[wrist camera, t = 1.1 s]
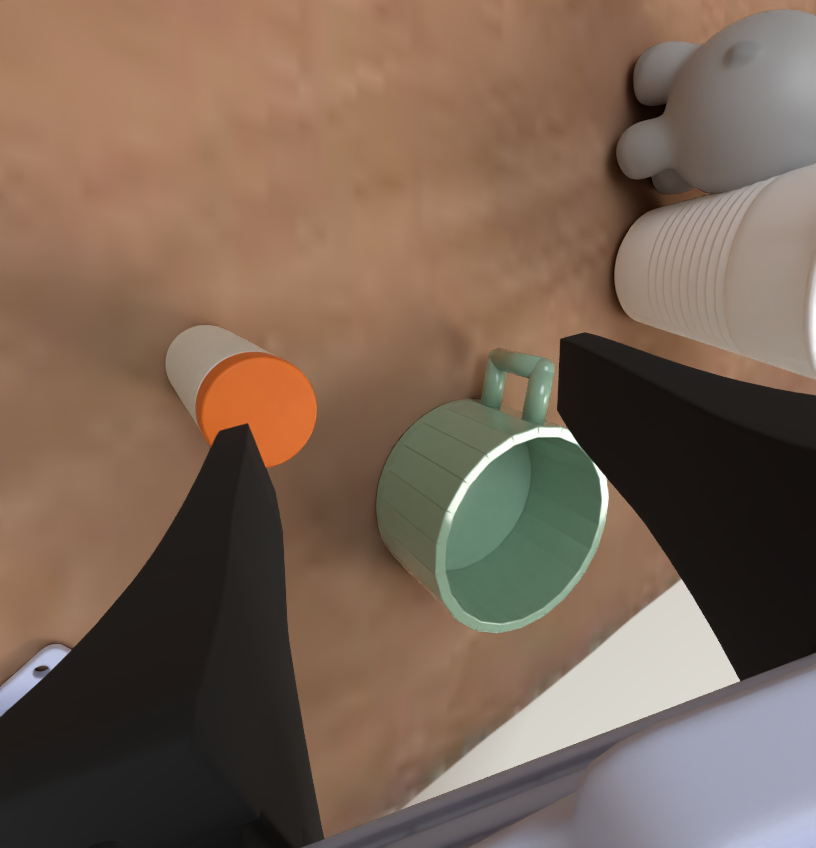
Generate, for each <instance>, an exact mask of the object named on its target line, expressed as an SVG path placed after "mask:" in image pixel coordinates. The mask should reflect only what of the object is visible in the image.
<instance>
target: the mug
mask: <svg viewBox="0 0 816 848" xmlns="http://www.w3.org/2000/svg"><path fill="white" fill-rule="evenodd" d="M507 372H508V373H511V374H515V375H519V376H522V377H526V378H529V381H528V386H527V392H526V397H525V402H524V408H523V412H520V411H517V410H515V409H512V408H509V407H506V406H503V405H501V403H502V398H503V392H504V386H505V381H506V375H507ZM554 373H555V366H554V364H553V362H552V361H551V360H549V359H547V358H543V357H538V356H533V355H529V354H524V353H520V352H515V351H511V350H506V349H501V348H496V349H494V350H492V351H491V352H490V353H489V355H488V360H487V366H486V371H485V377H484V383H483V389H482V395H481V399H462V400H457V401H452V402H449V403H447V404H444V405H441V406H439V407H437V408H435V409H433V410H431V411H430V412H428V413H427V414H425V415H424V416H422V417H421V418H420V419H419V420H417V421H416V422H415V423H414V424H413V425H412V426H411V427H410V428H409V429H408V430H407V431H406V432H405V433H404V434H403V436H402V437H401V438H400V440H399V441H398V442H397V444H396V445H395V447H394V448H393V450H392V452H391V453H390V455H389V457H388V459H387V461H386V463H385V466H384V468H383V471H382V474H381V477H380V480H379V485H378V490H377V497H376V516H377V523H378V528H379V531H380V534H381V537H382V540H383V541H384V543H385V545H386V547H387V549H388V550H389V551H390V553H391V554H392V555H393V556H394V557H395V558H396V559H397V560H398V562H399V563H400V564H401V566H402V567H403V568H404V569H405V570H406V571H407V572H408V573H409V574H410V575H411V576H412V577H413V578H414V579H415V580H416V581H417V582H418V583H419V584H420V585H422V586H423V587H424V588H425V589H426V590H427V591H428V592H429V593H430V594H431V595H432V596H433V597H434V598H435V599H436V600H437V601H438V602H439V603H440V604H441V605H442V606H443V607H444V608H445V609H446V610H447V611H448V612H449V613H450V614H451V615H452V616H453V617H454V618H455V619H456V620H457V621H459V622H460V623H462V624H464V625H466V626H468V627H469V628H471V629H473V630H475V631H481V632H490V633H502V632H506V631H511V630H515V629H519V628H521V627H524V626H526V625H528V624H530V623H532V622H534V621H536V620H537V619H539V618H541V617H543V616H544V615H546V614H547V613H548V612H549V611H551V610H552V609H553V608H554V607H555V606H556V605H558V604H559V603H560V602H561V601H562V600H563V599H564V598H565V597H566V596H567V595H568V594H569V593H570V591H571V590H572V589H573V588H574V586H575V585H576V584H577V583H578V581H579V580H580V579H581V578H582V575H584V573H585V571H586V569H587V568H588V566H589V564H590V562H591V560H592V558H593V557H594V555H595V553H596V550H597V548H598V545H599V542H600V539H601V536H602V533H603V530H604V527H605V523H606V516H607V508H608V500H609V498H608V497H609V495H608V486H607V478H606V476H605V475H604V474H603V473H602V472H601V471H600V469H599V468H598V467H597V466H596V465H595V464H594V462H593V461H592V460H591V459H590V458H589V456H588V455H587V454H586V453H585V452H584V450H583V449H582V448H581V447H580V446H579V444H578V443H577V442H576V440H575V438H574V437H573V435H572V434H571V432H570V431H569V429H567V428H565V427H562V426H559V425H557V424H554V423H551V422H548V421H545V419H546V414H547V409H548V404H549V399H550V394H551V389H552V383H553V378H554Z"/></svg>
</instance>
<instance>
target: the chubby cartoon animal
mask: <svg viewBox="0 0 816 848" xmlns="http://www.w3.org/2000/svg"><path fill="white" fill-rule="evenodd" d="M633 84H634V91H635V95H636V97H637V99H638V101H639V102H640V103H642V104H644V105H648V106H656V105H662V104H666V103H667V104H666V108H665V111H664V113H663V114H662V115H661V116H659V117H657V118H654V119H649V120H645V121H641V122H639V123H636V124H634V125H632V126H630V127H629V128H628V129H627V130H626V131H625V132H624V133H623V134H622V136H621V138H620V139H619V141H618V144H617V149H616V156H617V161H618V164H619V166H620V168H621V170H622V171H623V173H624V174H625V175H626V176H627V177H629V178H631V179H644V178H648V177H652V181H653V184H654V186H655V188H656V189H657V191H658V192H660V193H662V194H678V193H683V192H686V191H689V190H691V189H694V188H697V189H699V190H702V191H704V192H707V193H710V194H715V193H722V192H727V191H731V190H734V189H739V188H742V187H743V186H748V185H753V184H754V183H756V182H760V181H764V180H767V179H769V178H771V177H774V176H778V175H782V174H784V173H786V172H788V171H791V170H795V169H799V168H802V167H806V166H809V165H813V164H816V15H813V14H811V13H807V12H803V11H798V10H785V9H784V10H771V11H765V12H761V13H757V14H754V15H750V16H748V17H745V18H743V19H740V20H738V21H736V22H734V23H732V24H731V25H729V26H727V27H725V28H724V29H722V30H721V31H719V32H718V33H717V34H715V35H714V36H713V37H711V38H710V39H709V40H708V41H707V42H705V43H703V44H694V43H689V42H681V41H670V42H663V43H659V44H656V45H654V46H652V47H650V48H649V49H647V50H646V51H645V52H644V53H643V54H642V55H641V56H640V58H639V59H638V61H637V63H636V66H635V69H634V77H633Z"/></svg>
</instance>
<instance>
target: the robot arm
mask: <svg viewBox="0 0 816 848" xmlns="http://www.w3.org/2000/svg"><path fill="white" fill-rule="evenodd" d="M557 411H558V412H559V414H560V416H561V417H562V419H563V421H564V423H565V424H566V426H567V428H568V429H569V431H570V432H571V434H572V435H573V437H574V438H575V440H576V442H577V443H578V444H579V446H580V447H581V448H582V449H583V450H584V452H585V453H586V454H587V455H588V456H589V458H590V459H591V460H592V461H593V462H594V464H595V465H596V466H597V467H598V468H599V469H600V471H601V472H602V473H603V474H604V475H605V476H606V478H607V479H608V480H609V481H610V482H611V483H612V485H613V486H614V487H615V488H616V489H617V490H618V492H619V493H620V494H621V495H622V496H623V497H624V499H625V500H626V501H627V502H628V503H629V504H630V506H631V507H632V508H633V509H634V510H635V512H636V513H637V514H638V515H639V517H640V518H641V519H642V521H643V522H644V523H645V524H646V526H647V527H648V529H649V530H650V532H651V533H652V535H653V536H654V538H655V539H656V541H657V542H658V543H659V545H660V546H661V548H662V549H663V551H664V552H665V554H666V555H667V557H668V558H669V560H670V561H671V563H672V564H673V566H674V568H675V569H676V571H677V572H678V574H679V576H680V577H681V579H682V580H683V582H684V583H685V585H686V587H687V588H688V590H689V591H690V593H691V594H692V596H693V598H694V599H695V601H696V603H697V605H698V606H699V608H700V609H701V611H702V613H703V615H704V616H705V618H706V620H707V622H708V623H709V624H710V627H711V628H712V630H713V632H714V633H715V635H716V637H717V639H718V641H719V642H720V644H721V646H722V648H723V650H724V652H725V654H726V655H727V657H728V659H729V661H730V663H731V665H732V666H733V668H734V670H735V672H736V674H737V676H738V678H739V679H740V682H737V683H735V684H732V685H730V686H727V687H724V688H722V689H719V690H716V691H714V692H711V693H708V694H706V695H703V696H700V697H698V698H695V699H693V700H690V701H687V702H685V703H682V704H679V705H677V706H674V707H671V708H669V709H666V710H663V711H661V712H658V713H656V714H653V715H650V716H648V717H645V718H642V719H640V720H637V721H635V722H632V723H629V724H626V725H624V726H621V727H619V728H616V729H613V730H611V731H608V732H606V733H603V734H600V735H598V736H595V737H592V738H590V739H587V740H584V741H582V742H579V743H576V744H574V745H571V746H569V747H566V748H563V749H561V750H558V751H555V752H553V753H550V754H548V755H545V756H542V757H539V758H537V759H534V760H531V761H529V762H526V763H524V764H521V765H518V766H516V767H513V768H510V769H508V770H505V771H502V772H500V773H497V774H495V775H492V776H490V777H487V778H484V779H482V780H479V781H476V782H473V783H471V784H468V785H466V786H463V787H460V788H458V789H455V790H452V791H450V792H447V793H444V794H442V795H439V796H437V797H434V798H431V799H429V800H426V801H423V802H421V803H418V804H415V805H413V806H410V807H408V808H405V809H402V810H400V811H397V812H394V813H392V814H389V815H386V816H384V817H381V818H378V819H376V820H373V821H370V822H368V823H365V824H363V825H360V826H357V827H355V828H352V829H349V830H347V831H344V832H341V833H339V834H336V835H334V836H331V837H328V838H326V839H324V836H323V830H322V825H321V820H320V815H319V810H318V805H317V800H316V795H315V789H314V784H313V779H312V773H311V768H310V762H309V757H308V751H307V746H306V740H305V735H304V729H303V723H302V717H301V711H300V706H299V700H298V694H297V688H296V682H295V675H294V669H293V662H292V656H291V650H290V643H289V634H288V624H287V606H286V586H285V565H284V546H283V530H282V525H281V519H280V513H279V508H278V503H277V497H276V492H275V489H274V487H273V484H272V482H271V479H270V477H269V474H268V472H267V469H266V467H265V464H264V462H263V459H262V457H261V454H260V452H259V449H258V447H257V444H256V442H255V439H254V437H253V434H252V432H251V429H250V427H249V424H248V423H246V424H242V425H238V426H235V427H231V428H227V429H224V430H220V431H219V432H218V434H217V435H216V437H215V439H214V441H213V444H212V446H211V448H210V450H209V453H208V455H207V457H206V459H205V461H204V464H203V466H202V468H201V470H200V472H199V474H198V476H197V478H196V480H195V482H194V484H193V486H192V488H191V490H190V492H189V494H188V496H187V498H186V500H185V501H184V503H183V505H182V507H181V509H180V510H179V512H178V514H177V515H176V517H175V519H174V520H173V522H172V524H171V526H170V527H169V529H168V531H167V532H166V534H165V536H164V537H163V539H162V540H161V542H160V543H159V545H158V546H157V548H156V550H155V551H154V553H153V554H152V555H151V557H150V558H149V560H148V561H147V562H146V564H145V565H144V567H143V568H142V569H141V571H140V572H139V573H138V575H137V576H136V577H135V579H134V580H133V581H132V582H131V584H130V585H129V586H128V587H127V588H126V590H125V591H124V592H123V593H122V594H121V596H120V597H119V598H118V599H117V600H116V601H115V603H114V604H113V605H112V606H111V607H110V609H109V610H108V611H107V612H106V613H105V614H104V616H103V617H102V618H101V619H100V620H99V621H98V623H97V624H96V625H95V626H94V627H93V628H92V629H91V630H90V631H89V632H88V633H87V634H86V635H85V637H84V638H83V639H82V640H81V641H80V642H79V643H78V644H77V645H76V646H75V647H74V648H73V649H72V650H71V649H69V648H67V647H66V646H64V645H61V644H52V645H48V646H46V647H45V648H43V649H42V650H40V651H39V652H38V653H37V654H36V655H35V656H34V657H33V658H32V659H30V660H29V661H28V662H27V663H26V664H25V665H24V666H23V667H22V668H20V669H19V670H18V671H17V672H16V673H15V674H14V675H13V676H12V677H10V678H9V679H8V680H7V681H6V682H5V683H4V684H3V685H2V686H0V848H816V395H809V394H803V393H796V392H791V391H785V390H780V389H774V388H770V387H765V386H761V385H756V384H752V383H747V382H743V381H738V380H734V379H730V378H726V377H723V376H719V375H716V374H712V373H709V372H705V371H702V370H698V369H695V368H692V367H688V366H685V365H682V364H679V363H676V362H673V361H670V360H667V359H664V358H661V357H658V356H655V355H652V354H650V353H647V352H644V351H641V350H638V349H635V348H632V347H630V346H627V345H624V344H621V343H618V342H615V341H612V340H609V339H606V338H603V337H600V336H597V335H593V334H589V333H585V332H584V333H580V334H577V335H573V336H569V337H565V338H562V339H560V358H559V381H558V403H557ZM43 665H44V666H47V667H48V669H47V670H45V671H41V672H39V671H36V670H35V668H37V667H38V666H43Z"/></svg>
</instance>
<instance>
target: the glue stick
mask: <svg viewBox="0 0 816 848" xmlns="http://www.w3.org/2000/svg"><path fill="white" fill-rule="evenodd" d="M165 367H166V373H167V376H168V379H169V381H170V383H171V384H172V386H173V388H174V389H175V391H176V392H177V394H178V396H179V397H180V399H181V401H182V402H183V404H184V405H185V407H186V409H187V410H188V412H189V413H190V415H191V417H192V418H193V420H194V421H195V423H196V425H197V426H198V428H199V430H200V431H201V433H202V434H203V436H204V438H205V439H206V441H207V442H208V444H209V445H210V447H211V446H212V444H213V441H214V439H215V437H216V435H217V434H218V432H219V431H220V430H224V429H227V428H231V427H235V426H238V425H242V424H246V423H248V424H249V427H250V429H251V432H252V434H253V437H254V439H255V442H256V444H257V447H258V449H259V452H260V454H261V457H262V459H263V462H264V464H265V467H266V468H268V467H273V466H276V465H279V464H281V463H283V462H285V461H287V460H288V459H290V458H291V457H293V456H294V455H295V454H297V453H298V452H299V451H300V450H301V449H302V448H303V446H304V445H305V444H306V442H307V441H308V439H309V437H310V436H311V434H312V431H313V429H314V426H315V422H316V416H317V402H316V397H315V393H314V391H313V388H312V386H311V384H310V382H309V381H308V379H307V378H306V376H305V375H304V374H303V373H302V372H301V371H300V370H299V369H297V368H296V367H295V366H293V365H292V364H290V363H288V362H287V361H285V360H283V359H281V358H279V357H277V356H275V355H273V354H272V353H270V352H268V351H266V350H264V349H262V348H260V347H258V346H256V345H255V344H253V343H251V342H249V341H247V340H245V339H243V338H241V337H239V336H238V335H236V334H234V333H232V332H230V331H228V330H226V329H224V328H222V327H218V326H214V325H199V326H195V327H192V328H189V329H187V330H185V331H183V332H182V333H181V334H179V335H178V336H177V337H176V338H175V339H174V341H173V342H172V343H171V345H170V347H169V349H168V351H167V355H166V361H165Z"/></svg>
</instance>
